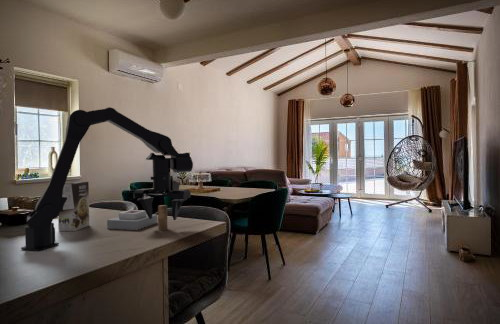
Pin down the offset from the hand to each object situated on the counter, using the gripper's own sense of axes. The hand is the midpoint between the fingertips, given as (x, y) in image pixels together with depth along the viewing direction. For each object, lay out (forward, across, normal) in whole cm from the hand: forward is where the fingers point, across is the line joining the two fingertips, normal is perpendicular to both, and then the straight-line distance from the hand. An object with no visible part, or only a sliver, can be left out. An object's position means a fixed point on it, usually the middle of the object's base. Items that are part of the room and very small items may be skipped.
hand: (162, 219), depth 110 cm
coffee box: (+4, +32, +5) cm, 33 cm away
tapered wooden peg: (+3, 0, 0) cm, 3 cm away
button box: (+3, +14, -3) cm, 15 cm away
